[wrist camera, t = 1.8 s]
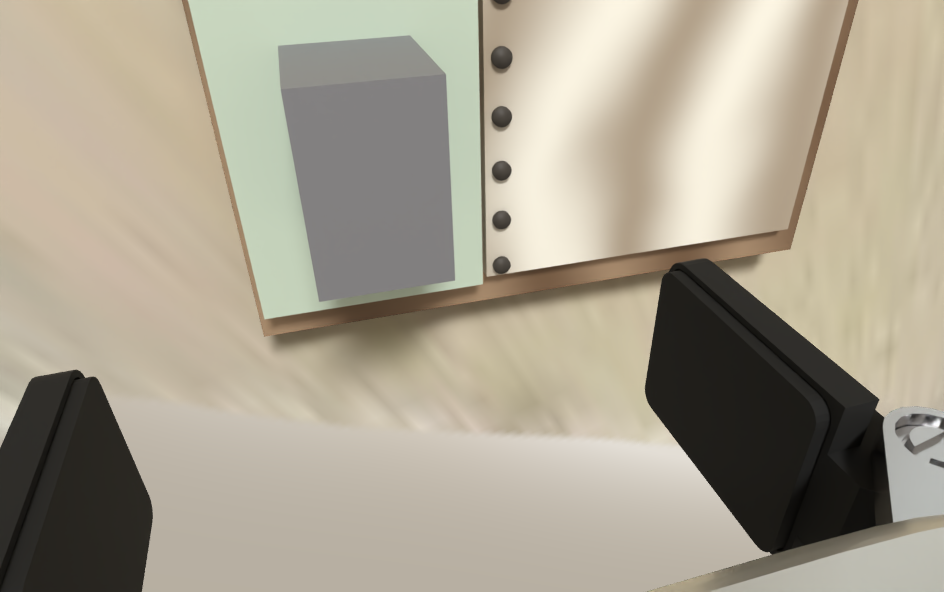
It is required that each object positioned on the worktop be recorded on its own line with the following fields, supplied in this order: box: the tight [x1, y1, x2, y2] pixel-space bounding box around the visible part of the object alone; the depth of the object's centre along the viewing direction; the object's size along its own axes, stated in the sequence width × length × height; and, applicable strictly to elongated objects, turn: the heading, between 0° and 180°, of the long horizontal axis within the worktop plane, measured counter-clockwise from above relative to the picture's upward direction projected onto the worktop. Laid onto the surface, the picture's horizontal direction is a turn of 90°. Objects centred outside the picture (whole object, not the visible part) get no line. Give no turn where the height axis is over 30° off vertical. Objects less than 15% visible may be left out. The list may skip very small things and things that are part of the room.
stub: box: [188, 0, 483, 319], centre depth 20 cm, size 8×13×6 cm, turn 2°
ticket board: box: [182, 0, 858, 336], centre depth 24 cm, size 24×16×3 cm, turn 92°
